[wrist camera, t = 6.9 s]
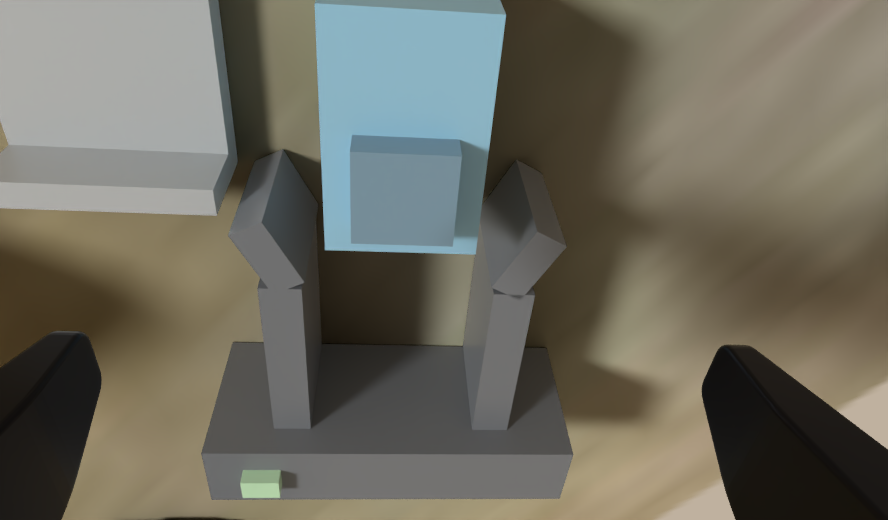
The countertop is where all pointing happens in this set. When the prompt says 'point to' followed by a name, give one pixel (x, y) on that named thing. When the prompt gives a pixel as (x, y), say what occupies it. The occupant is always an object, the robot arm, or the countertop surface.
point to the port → (389, 370)
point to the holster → (115, 106)
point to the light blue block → (406, 121)
